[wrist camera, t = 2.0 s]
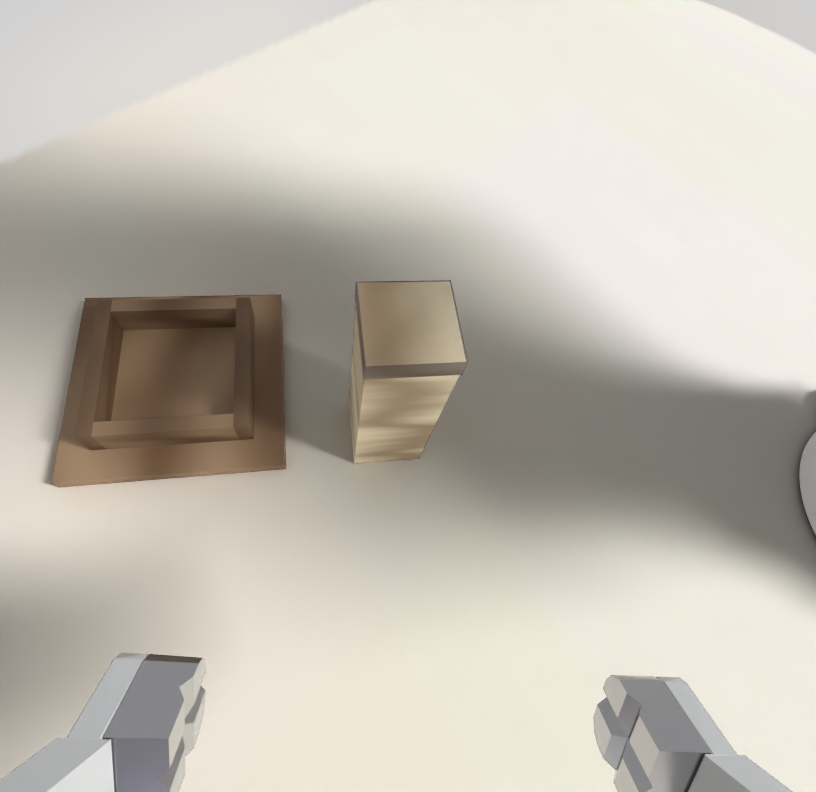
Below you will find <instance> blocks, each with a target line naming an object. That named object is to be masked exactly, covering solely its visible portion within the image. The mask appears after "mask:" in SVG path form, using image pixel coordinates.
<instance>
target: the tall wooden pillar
mask: <svg viewBox="0 0 816 792" xmlns="http://www.w3.org/2000/svg"><path fill="white" fill-rule="evenodd" d="M355 301H356V309H355V323H354V337H353V351H352V366H351V380H350V394H349V411H350V423H351V434H352V446H353V458H354V464H355V463H367V462H379V461H392V460H404V459H416V458H419V457H420V455H421V453H422V451H423V449H424V447H425V445H426V443H427V441H428V439H429V437H430V435H431V433H432V431H433V429H434V427H435V425H436V423H437V420H438V418H439V416H440V414H441V412H442V410H443V408H444V406H445V404H446V402H447V400H448V398H449V396H450V394H451V392H452V390H453V388H454V386H455V384H456V382H457V380H458V378H459V376H460V375H462V373H463V371H464V369H465V367H466V365H467V363H468V362H467V357H466V352H465V347H464V342H463V337H462V332H461V328H460V323H459V318H458V313H457V308H456V303H455V298H454V294H453V289H452V284H451V280H448V281H379V282H356V289H355Z"/></svg>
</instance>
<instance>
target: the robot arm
mask: <svg viewBox="0 0 816 792" xmlns="http://www.w3.org/2000/svg"><path fill="white" fill-rule="evenodd" d="M799 478H800V490H801V495H802V500H803V504H804V507H805V511H806V514H807V516H808V519H809V522H810V524H811V526H812V528H813V531H814V533H815V535H816V431H815V433H814V434H813V435H812V437H811V438H810V439H809V441H808V443H807V444H806V446H805V448H804V451H803V454H802V458H801V462H800V473H799ZM204 675H205V659H204V658H197V657H182V656H168V655H154V654H134V653H120V654H119V655H118V656H117V657H116V658H115V659H114V660H113V661H112V663H111V664H110V666H109V668H108V669H107V671H106V673H105V674H104V676H103V678H102V679H101V681H100V683H99V684H98V686H97V688H96V689H95V691H94V693H93V694H92V696H91V698H90V699H89V701H88V703H87V704H86V706H85V708H84V709H83V711H82V713H81V714H80V716H79V718H78V719H77V721H76V723H75V724H74V726H73V728H72V729H71V731H70V733H69V734H68V736H67V738H56V739H55V740H54V741H52V742H51V743H50V744H48V745H47V746H46V747H44V748H43V749H42V750H40V751H39V752H37V753H36V754H35V755H33V756H32V757H31V758H29V759H28V760H27V761H25V762H24V763H22V764H21V765H20V766H18V767H17V768H16V769H14V770H13V771H12V772H10V773H9V774H8V775H6V776H5V777H3V778H2V779H1V780H0V792H179V790H180V787H181V784H182V782H183V779H184V776H185V756H186V755H187V754H188V753H189V752H191V751H192V750H193V749H194V746H195V743H196V740H197V737H198V734H199V730H200V726H201V722H202V718H203V713H204V705H205V690H204V689H203V687H202V686H201V684H202V681H203V678H204ZM603 690H604V692H605V694H606V696H607V697H606V698H605V699H604V700H603V701H601V702H600V703H599V704H598V705H597V707H596V711H595V714H594V733H595V737H596V741H597V745H598V747H599V750H600V752H601V754H602V757H603V758H604V759H605V760H606V761H607V762H608V763H609V764H610V765H611V766H612V767H613V768H614V769H615V770H616V771H615V777H614V784H615V786H616V789H617V791H618V792H793V791H791V790H790V789H789V788H787V787H786V786H785V785H783V784H782V783H781V782H779V781H778V780H777V779H775V778H774V777H773V776H771V775H770V774H769V773H767V772H766V771H765V770H763V769H762V768H761V767H760V766H758V765H757V764H756V763H754V762H753V761H752V760H750V759H749V758H748V757H746V756H745V755H737V753H736V752H735V751H734V749H733V748H732V746H731V745H730V743H729V742H728V741H727V739H726V738H725V736H724V735H723V734H722V732H721V731H720V729H719V728H718V726H717V725H716V724H715V722H714V721H713V719H712V718H711V716H710V715H709V714H708V712H707V711H706V709H705V708H704V707H703V705H702V704H701V702H700V701H699V699H698V698H697V697H696V695H695V694H694V692H693V691H692V690H691V688H690V687H689V685H688V684H687V683H686V682H685V681H684V680H682V679H681V678H676V677H653V676H625V675H611V676H610V677H608V678H607V679H606V681H605V684H604V687H603Z"/></svg>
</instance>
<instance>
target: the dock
mask: <svg viewBox="0 0 816 792" xmlns="http://www.w3.org/2000/svg"><path fill="white" fill-rule="evenodd" d="M279 469H286V457H285V416H284V374H283V332H282V300H281V295H234V296H180V297H126V298H85V302H84V308H83V313H82V319H81V324H80V329H79V335H78V340H77V346H76V351H75V357H74V362H73V368H72V373H71V379H70V384H69V390H68V395H67V401H66V406H65V411H64V417H63V422H62V428H61V433H60V439H59V444H58V450H57V455H56V461H55V466H54V472H53V477H52V482H51V483H52V484H54V485H56V486H57V487H69V486H81V485H94V484H106V483H118V482H131V481H143V480H156V479H168V478H180V477H193V476H205V475H217V474H230V473H242V472H254V471H267V470H279Z"/></svg>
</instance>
